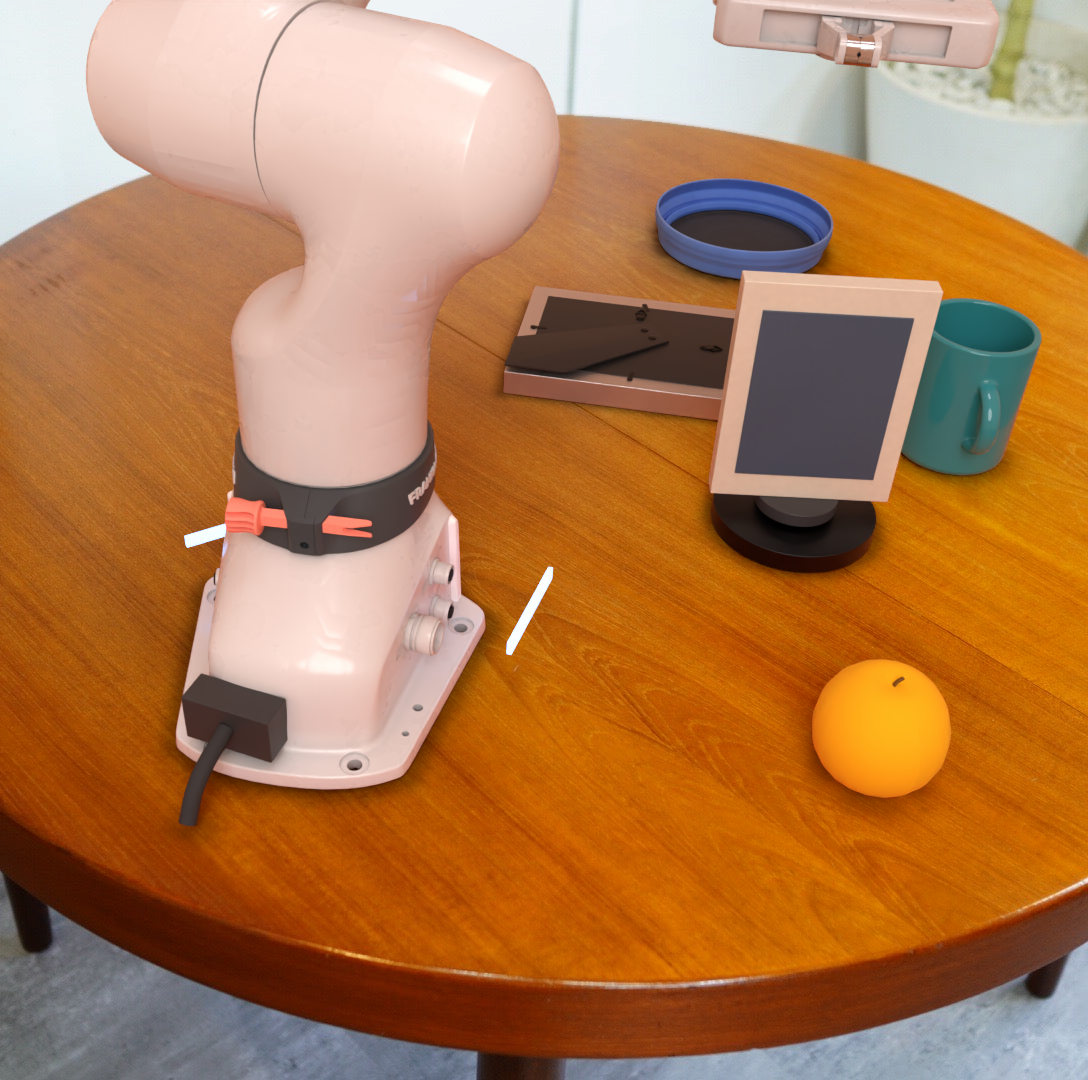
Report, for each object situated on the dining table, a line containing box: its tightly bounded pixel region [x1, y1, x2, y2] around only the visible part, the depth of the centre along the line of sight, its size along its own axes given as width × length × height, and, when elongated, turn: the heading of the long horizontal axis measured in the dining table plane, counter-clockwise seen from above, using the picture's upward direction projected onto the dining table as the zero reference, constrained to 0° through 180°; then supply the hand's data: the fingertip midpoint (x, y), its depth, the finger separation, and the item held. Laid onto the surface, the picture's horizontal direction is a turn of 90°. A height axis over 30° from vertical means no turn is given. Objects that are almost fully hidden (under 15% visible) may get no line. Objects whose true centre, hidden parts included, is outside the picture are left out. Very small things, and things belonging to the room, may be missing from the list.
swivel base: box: [710, 493, 877, 574], centre depth 98 cm, size 12×12×2 cm
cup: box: [900, 297, 1043, 476], centre depth 103 cm, size 9×12×11 cm
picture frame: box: [503, 285, 736, 422], centre depth 115 cm, size 16×3×21 cm
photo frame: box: [708, 270, 944, 527], centre depth 92 cm, size 6×13×18 cm, turn 89°
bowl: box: [654, 177, 834, 280], centre depth 134 cm, size 18×18×4 cm
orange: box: [811, 658, 952, 799], centre depth 77 cm, size 8×8×8 cm
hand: (859, 54), depth 91 cm, fingers closed
